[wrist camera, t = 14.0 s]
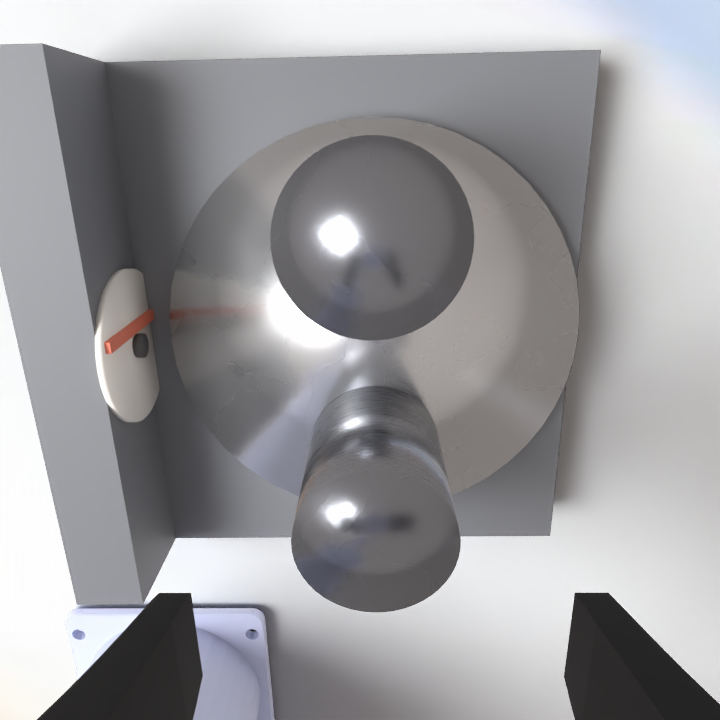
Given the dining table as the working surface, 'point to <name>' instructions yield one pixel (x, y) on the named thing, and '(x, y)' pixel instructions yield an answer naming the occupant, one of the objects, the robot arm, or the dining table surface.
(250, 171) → the pan
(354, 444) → the cylinder
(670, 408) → the dining table surface
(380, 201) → the cylinder
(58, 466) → the scale
